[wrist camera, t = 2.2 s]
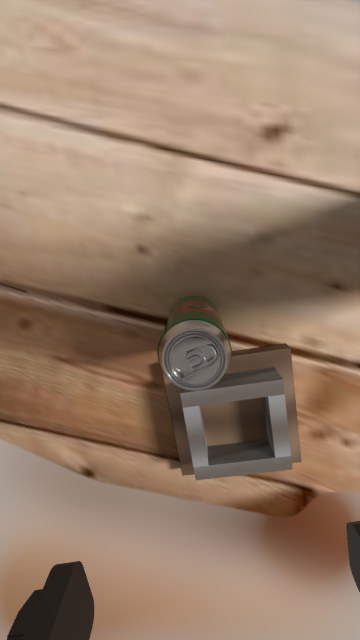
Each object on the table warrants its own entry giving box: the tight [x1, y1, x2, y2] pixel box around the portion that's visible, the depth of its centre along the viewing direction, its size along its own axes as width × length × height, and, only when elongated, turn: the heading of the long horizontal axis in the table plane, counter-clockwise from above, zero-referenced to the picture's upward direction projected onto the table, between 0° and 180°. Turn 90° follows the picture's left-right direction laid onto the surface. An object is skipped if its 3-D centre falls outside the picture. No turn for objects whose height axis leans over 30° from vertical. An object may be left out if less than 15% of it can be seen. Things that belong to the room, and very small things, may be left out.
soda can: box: [158, 296, 232, 391], centre depth 25 cm, size 5×5×12 cm
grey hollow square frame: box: [162, 344, 301, 480], centre depth 31 cm, size 13×13×4 cm
